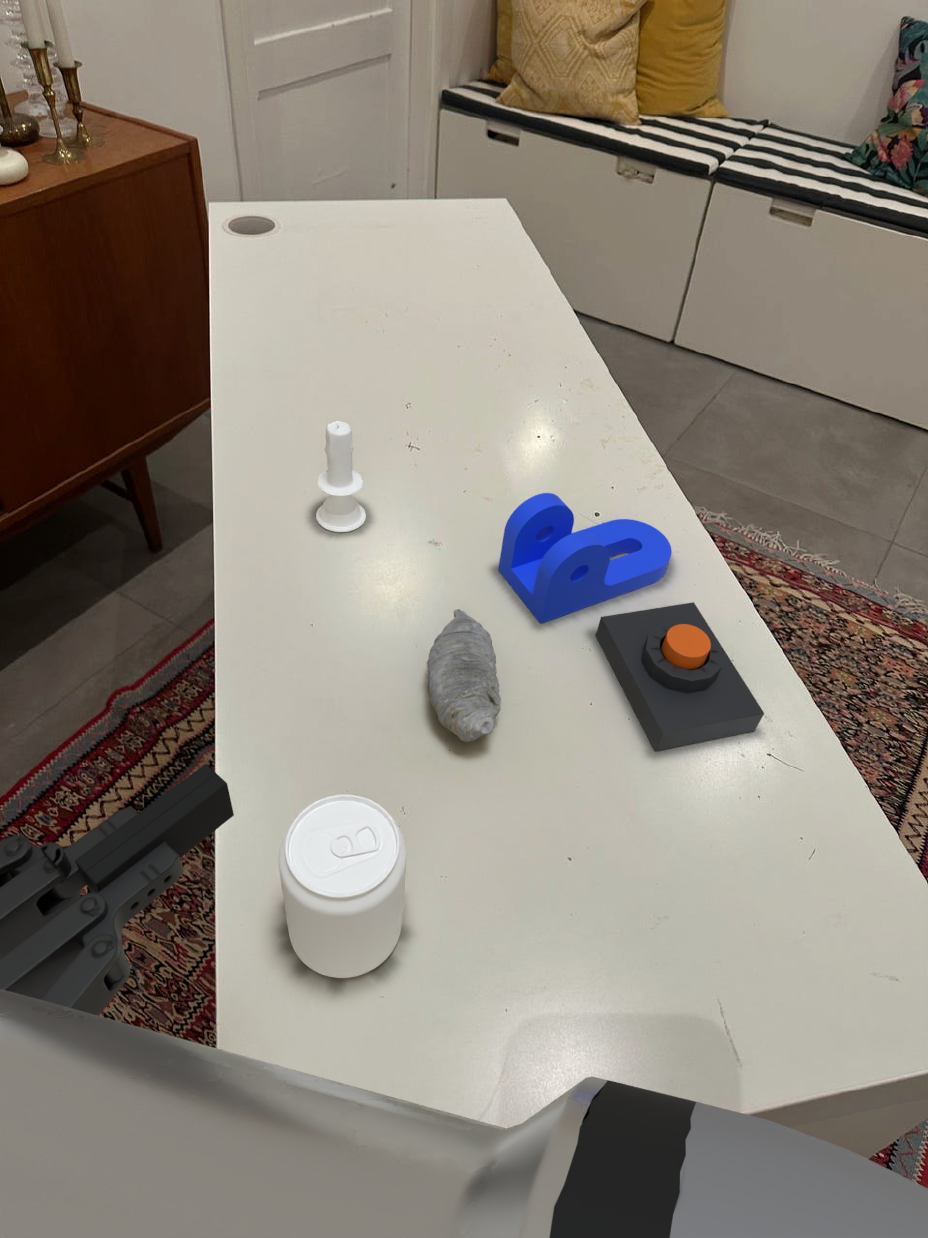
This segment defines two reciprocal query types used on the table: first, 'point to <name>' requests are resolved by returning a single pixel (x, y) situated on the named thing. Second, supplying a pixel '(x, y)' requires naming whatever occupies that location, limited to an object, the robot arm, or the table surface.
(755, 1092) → the table surface
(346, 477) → the candle
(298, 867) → the beverage can
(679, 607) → the push button base
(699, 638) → the switch
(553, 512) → the bracket
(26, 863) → the robot arm
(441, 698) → the grey ridged oval piece
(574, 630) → the table surface
